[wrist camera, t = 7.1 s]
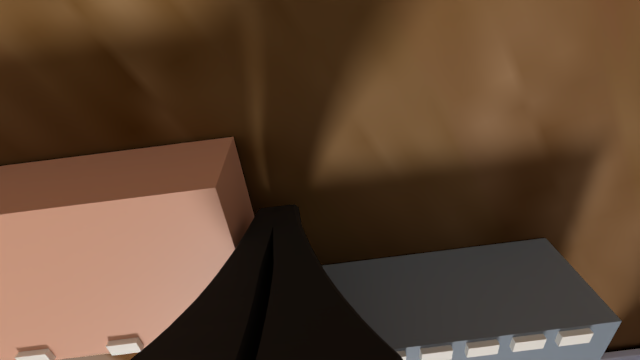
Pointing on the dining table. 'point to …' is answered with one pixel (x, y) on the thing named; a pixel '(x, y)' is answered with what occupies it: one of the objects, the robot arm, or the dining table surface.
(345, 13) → the dining table surface
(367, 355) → the robot arm
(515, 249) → the grey tabbed panel
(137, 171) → the stub
